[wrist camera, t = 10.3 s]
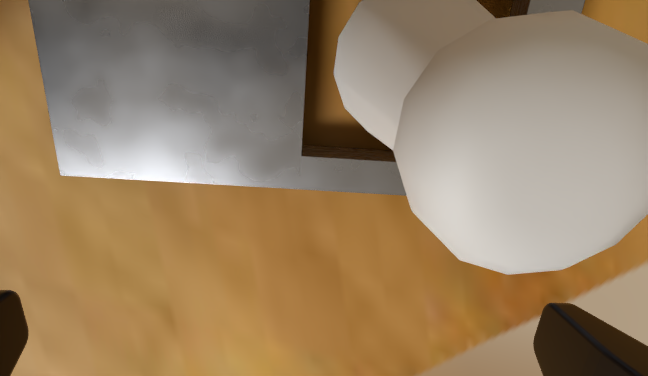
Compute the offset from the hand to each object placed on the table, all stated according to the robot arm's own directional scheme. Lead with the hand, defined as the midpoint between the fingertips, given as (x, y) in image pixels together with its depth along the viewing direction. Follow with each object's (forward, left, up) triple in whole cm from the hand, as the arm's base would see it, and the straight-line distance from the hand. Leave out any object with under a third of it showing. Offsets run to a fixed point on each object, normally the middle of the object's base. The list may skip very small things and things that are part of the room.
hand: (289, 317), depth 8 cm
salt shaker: (+4, +3, -13) cm, 14 cm away
